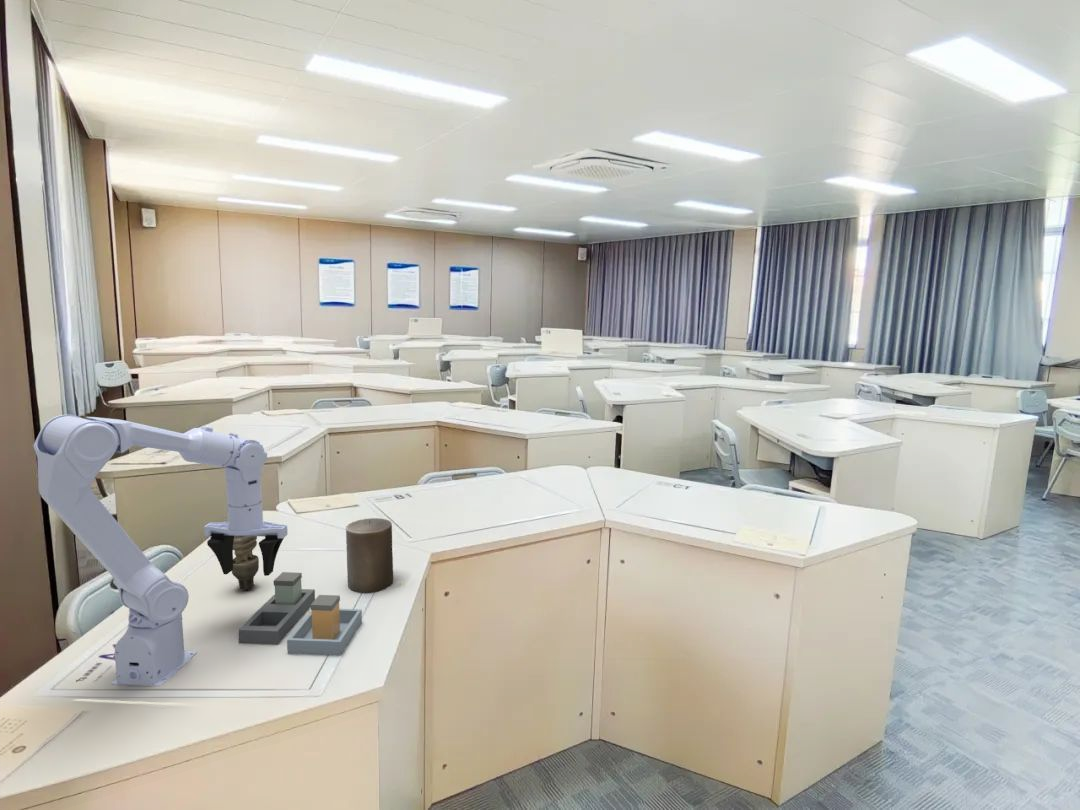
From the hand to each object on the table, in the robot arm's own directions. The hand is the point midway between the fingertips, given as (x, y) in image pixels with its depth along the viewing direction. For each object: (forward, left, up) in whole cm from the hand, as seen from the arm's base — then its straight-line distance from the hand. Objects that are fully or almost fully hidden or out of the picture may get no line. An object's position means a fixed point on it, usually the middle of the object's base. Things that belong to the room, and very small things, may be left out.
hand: (248, 572), depth 108 cm
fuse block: (+1, -5, -10) cm, 12 cm away
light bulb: (+13, +8, -11) cm, 19 cm away
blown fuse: (-4, -16, -10) cm, 19 cm away
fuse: (+5, -5, -10) cm, 12 cm away
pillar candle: (+18, -17, -11) cm, 27 cm away
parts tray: (-4, -16, -10) cm, 19 cm away
